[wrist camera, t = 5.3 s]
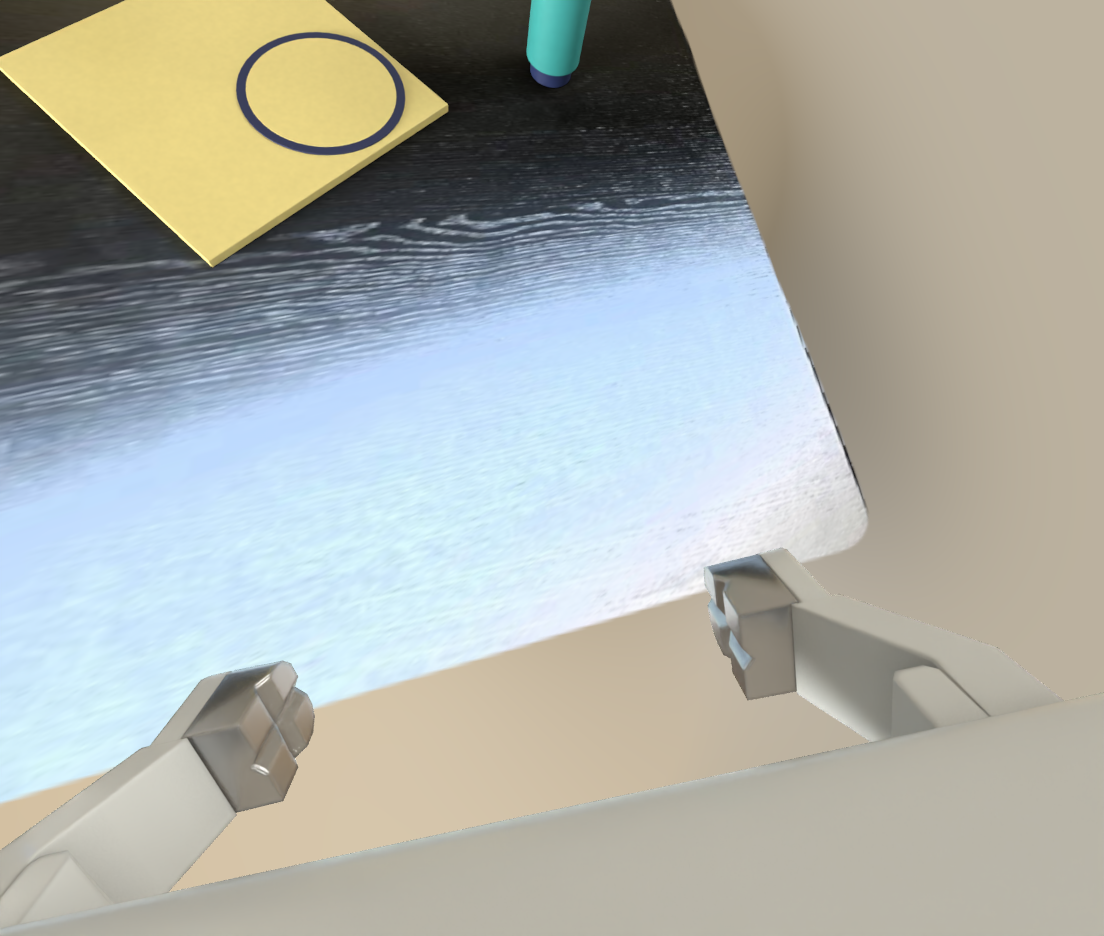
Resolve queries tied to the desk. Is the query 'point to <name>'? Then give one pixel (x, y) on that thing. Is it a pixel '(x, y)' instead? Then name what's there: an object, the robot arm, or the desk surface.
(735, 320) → the desk surface
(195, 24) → the writing pad
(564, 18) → the cylinder
